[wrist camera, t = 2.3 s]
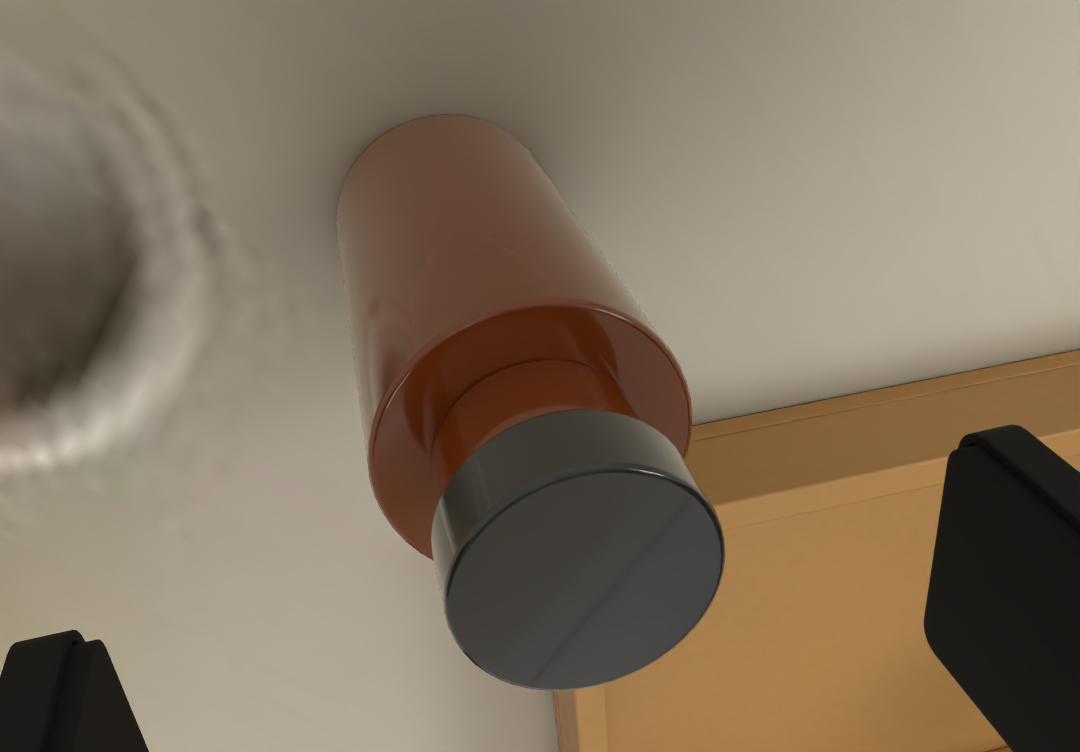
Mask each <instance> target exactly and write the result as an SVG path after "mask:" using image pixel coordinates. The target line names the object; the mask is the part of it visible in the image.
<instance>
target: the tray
mask: <svg viewBox="0 0 1080 752" xmlns="http://www.w3.org/2000/svg"><path fill="white" fill-rule="evenodd" d="M1010 424H1013V425H1019V426H1021V427H1023V428H1024V429H1026V430H1027V431H1029V432H1030V433H1031V434H1032V435H1034V436H1035V437H1036V438H1037V439H1039V440H1040V441H1041V442H1042V443H1044V444H1045V445H1046V446H1047V447H1049V448H1050V449H1051V450H1052V451H1054V452H1055V453H1056V454H1057V455H1059V456H1060V457H1061V458H1062V459H1064V460H1065V461H1066V462H1067V463H1069V464H1070V465H1071V466H1072V467H1074V468H1075V469H1076V470H1077V471H1079V472H1080V350H1076V351H1071V352H1066V353H1061V354H1056V355H1051V356H1045V357H1040V358H1035V359H1030V360H1025V361H1020V362H1015V363H1010V364H1005V365H1000V366H995V367H990V368H985V369H980V370H974V371H969V372H964V373H959V374H954V375H949V376H944V377H939V378H934V379H929V380H924V381H919V382H914V383H909V384H904V385H898V386H893V387H888V388H883V389H878V390H873V391H868V392H863V393H858V394H853V395H848V396H843V397H838V398H833V399H827V400H822V401H817V402H812V403H807V404H802V405H797V406H792V407H787V408H782V409H777V410H772V411H767V412H762V413H757V414H751V415H746V416H741V417H736V418H731V419H726V420H721V421H716V422H711V423H706V424H701V425H696V426H691V438H690V442H689V447H688V452H687V456H686V458H685V462H686V464H687V465H688V467H689V469H690V470H691V472H692V474H693V475H694V477H695V479H696V480H697V482H698V483H699V485H700V487H701V488H702V490H703V492H704V493H705V495H706V497H707V498H708V500H709V501H710V503H711V505H712V506H713V508H714V510H715V511H716V513H717V516H718V518H719V520H720V523H721V525H722V530H723V534H724V538H725V564H724V572H723V576H722V580H721V584H720V586H719V589H718V591H717V594H716V596H715V599H714V600H713V602H712V604H711V606H710V607H709V609H708V611H707V613H706V614H705V615H704V617H703V618H702V619H701V621H700V622H699V624H698V625H697V626H696V627H695V628H694V629H693V630H692V631H691V633H690V634H689V635H688V636H687V637H686V638H685V639H684V640H683V641H681V642H680V643H679V644H678V645H677V646H676V647H675V648H674V649H672V650H671V651H670V652H668V653H667V654H665V655H664V656H663V657H661V658H660V659H658V660H657V661H655V662H653V663H652V664H650V665H648V666H647V667H645V668H643V669H641V670H639V671H637V672H635V673H633V674H631V675H628V676H626V677H623V678H620V679H618V680H615V681H612V682H609V683H605V684H602V685H598V686H594V687H588V688H583V689H575V690H564V691H554V700H555V709H556V719H557V729H558V738H559V748H560V752H1013V751H1012V750H1011V749H1010V748H1009V746H1008V745H1007V744H1006V743H1005V741H1004V740H1003V739H1002V738H1001V736H1000V735H999V734H998V733H997V731H996V730H995V729H994V728H993V726H992V725H991V724H990V723H989V721H988V720H987V719H986V718H985V716H984V715H983V714H982V713H981V711H980V710H979V709H978V708H977V706H976V705H975V704H974V703H973V701H972V700H971V699H970V698H969V696H968V695H967V694H966V693H965V692H964V690H963V689H962V688H961V687H960V685H959V684H958V683H957V682H956V680H955V679H954V678H953V677H952V675H951V674H950V673H949V672H948V670H947V669H946V668H945V667H944V665H943V664H942V663H941V662H940V660H939V659H938V658H937V657H936V655H935V654H934V653H933V651H932V650H931V648H930V646H929V644H928V642H927V639H926V636H925V631H924V615H925V608H926V601H927V594H928V588H929V581H930V574H931V568H932V561H933V554H934V547H935V541H936V534H937V527H938V521H939V514H940V507H941V500H942V494H943V487H944V480H945V474H946V467H947V461H948V457H949V455H950V453H951V452H952V451H954V450H956V449H958V446H959V442H960V441H961V439H962V438H963V437H964V436H965V435H967V434H970V433H974V432H978V431H983V430H988V429H992V428H997V427H1001V426H1006V425H1010Z"/></svg>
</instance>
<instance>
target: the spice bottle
mask: <svg viewBox="0 0 1080 752" xmlns="http://www.w3.org/2000/svg"><path fill="white" fill-rule="evenodd" d="M336 230H337V238H338V246H339V253H340V261H341V268H342V276H343V283H344V291H345V298H346V306H347V313H348V321H349V328H350V336H351V343H352V350H353V358H354V365H355V373H356V380H357V388H358V395H359V403H360V410H361V418H362V425H363V433H364V440H365V448H366V455H367V463H368V470H369V478H370V482H371V486H372V489H373V492H374V496H375V498H376V500H377V503H378V505H379V507H380V509H381V511H382V513H383V514H384V516H385V517H386V519H387V520H388V522H389V523H390V524H391V526H392V527H393V528H394V529H395V531H396V532H397V533H398V534H399V535H400V536H401V537H402V538H403V539H404V540H405V541H406V542H407V543H409V544H410V545H411V546H412V547H414V548H415V549H416V550H417V551H419V552H420V553H421V554H423V555H425V556H427V557H428V558H430V559H432V560H434V564H435V568H436V573H437V578H438V583H439V588H440V593H441V598H442V603H443V608H444V613H445V617H446V620H447V624H448V628H449V630H450V632H451V634H452V636H453V638H454V640H455V642H456V643H457V644H458V646H459V647H460V649H461V650H462V651H463V653H464V654H465V655H466V656H467V657H468V658H469V659H470V660H471V661H472V662H473V663H474V664H475V665H477V666H478V667H480V668H481V669H482V670H484V671H485V672H486V673H488V674H490V675H492V676H494V677H496V678H498V679H500V680H502V681H505V682H508V683H510V684H513V685H517V686H521V687H525V688H530V689H538V690H551V691H564V690H575V689H583V688H588V687H594V686H598V685H602V684H605V683H609V682H612V681H615V680H618V679H620V678H623V677H626V676H628V675H631V674H633V673H635V672H637V671H639V670H641V669H643V668H645V667H647V666H648V665H650V664H652V663H653V662H655V661H657V660H658V659H660V658H661V657H663V656H664V655H665V654H667V653H668V652H670V651H671V650H672V649H674V648H675V647H676V646H677V645H678V644H679V643H680V642H681V641H683V640H684V639H685V638H686V637H687V636H688V635H689V634H690V633H691V631H692V630H693V629H694V628H695V627H696V626H697V625H698V624H699V622H700V621H701V619H702V618H703V617H704V615H705V614H706V613H707V611H708V609H709V607H710V606H711V604H712V602H713V600H714V599H715V596H716V594H717V591H718V589H719V586H720V584H721V580H722V576H723V572H724V564H725V538H724V534H723V530H722V525H721V523H720V520H719V518H718V516H717V513H716V511H715V510H714V508H713V506H712V505H711V503H710V501H709V500H708V498H707V497H706V495H705V493H704V492H703V490H702V488H701V487H700V485H699V483H698V482H697V480H696V479H695V477H694V475H693V474H692V472H691V470H690V469H689V467H688V465H687V464H686V462H685V458H686V456H687V452H688V447H689V442H690V438H691V426H692V408H691V398H690V393H689V389H688V385H687V381H686V379H685V376H684V374H683V372H682V369H681V367H680V365H679V363H678V362H677V360H676V358H675V357H674V355H673V353H672V352H671V350H670V349H669V347H668V346H667V345H666V343H665V342H664V340H663V339H662V337H661V336H660V335H659V333H658V332H657V330H656V329H655V328H654V326H653V325H652V323H651V322H650V321H649V319H648V318H647V316H646V315H645V313H644V312H643V311H642V309H641V308H640V306H639V305H638V304H637V302H636V301H635V299H634V298H633V297H632V295H631V294H630V292H629V291H628V289H627V288H626V287H625V285H624V284H623V282H622V281H621V280H620V278H619V277H618V275H617V274H616V273H615V271H614V270H613V268H612V267H611V265H610V264H609V263H608V261H607V260H606V258H605V257H604V256H603V254H602V253H601V251H600V250H599V249H598V247H597V246H596V244H595V243H594V241H593V240H592V239H591V237H590V236H589V234H588V233H587V232H586V230H585V229H584V227H583V226H582V225H581V223H580V222H579V220H578V219H577V217H576V216H575V215H574V213H573V212H572V210H571V209H570V208H569V206H568V205H567V203H566V202H565V201H564V199H563V198H562V196H561V195H560V193H559V192H558V191H557V189H556V188H555V186H554V185H553V184H552V182H551V181H550V179H549V178H548V176H547V175H546V174H545V172H544V171H543V169H542V168H541V167H540V165H539V164H538V162H537V161H536V160H535V158H534V157H533V156H532V154H531V153H530V152H529V151H528V150H527V148H526V147H525V146H524V145H523V144H522V143H521V142H519V141H518V140H517V139H516V138H515V137H514V136H512V135H511V134H509V133H508V132H506V131H505V130H503V129H502V128H500V127H497V126H495V125H493V124H491V123H489V122H486V121H483V120H480V119H477V118H473V117H467V116H462V115H435V116H428V117H424V118H419V119H415V120H412V121H410V122H407V123H404V124H402V125H400V126H398V127H396V128H394V129H392V130H390V131H388V132H387V133H385V134H384V135H382V136H381V137H379V138H378V139H377V140H376V141H374V142H373V143H372V144H371V145H370V146H369V147H368V148H367V149H366V150H365V151H364V152H363V153H362V154H361V156H360V157H359V158H358V159H357V160H356V162H355V163H354V165H353V166H352V168H351V170H350V171H349V173H348V175H347V177H346V179H345V181H344V184H343V186H342V189H341V192H340V196H339V199H338V205H337V212H336Z"/></svg>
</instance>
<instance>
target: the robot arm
mask: <svg viewBox="0 0 1080 752" xmlns="http://www.w3.org/2000/svg"><path fill="white" fill-rule="evenodd" d="M924 631H925V636H926V639H927V642H928V644H929V646H930V648H931V650H932V651H933V653H934V654H935V655H936V657H937V658H938V659H939V660H940V662H941V663H942V664H943V665H944V667H945V668H946V669H947V670H948V672H949V673H950V674H951V675H952V677H953V678H954V679H955V680H956V682H957V683H958V684H959V685H960V687H961V688H962V689H963V690H964V692H965V693H966V694H967V695H968V696H969V698H970V699H971V700H972V701H973V703H974V704H975V705H976V706H977V708H978V709H979V710H980V711H981V713H982V714H983V715H984V716H985V718H986V719H987V720H988V721H989V723H990V724H991V725H992V726H993V728H994V729H995V730H996V731H997V733H998V734H999V735H1000V736H1001V738H1002V739H1003V740H1004V741H1005V743H1006V744H1007V745H1008V746H1009V748H1010V749H1011V750H1012V751H1013V752H1080V472H1079V471H1077V470H1076V469H1075V468H1074V467H1072V466H1071V465H1070V464H1069V463H1067V462H1066V461H1065V460H1064V459H1062V458H1061V457H1060V456H1059V455H1057V454H1056V453H1055V452H1054V451H1052V450H1051V449H1050V448H1049V447H1047V446H1046V445H1045V444H1044V443H1042V442H1041V441H1040V440H1039V439H1037V438H1036V437H1035V436H1034V435H1032V434H1031V433H1030V432H1029V431H1027V430H1026V429H1024V428H1023V427H1021V426H1019V425H1013V424H1010V425H1006V426H1001V427H997V428H992V429H988V430H983V431H978V432H974V433H970V434H967V435H965V436H964V437H963V438H962V439H961V441H960V442H959V446H958V449H956V450H954V451H952V452H951V453H950V455H949V457H948V461H947V467H946V474H945V480H944V487H943V494H942V500H941V507H940V514H939V521H938V527H937V534H936V541H935V547H934V554H933V561H932V568H931V574H930V581H929V588H928V594H927V601H926V608H925V615H924ZM0 752H149V751H148V748H147V746H146V744H145V741H144V739H143V736H142V734H141V731H140V729H139V727H138V724H137V722H136V719H135V717H134V714H133V712H132V710H131V707H130V705H129V702H128V700H127V698H126V695H125V693H124V690H123V688H122V685H121V683H120V681H119V678H118V676H117V673H116V671H115V669H114V666H113V664H112V661H111V659H110V656H109V654H108V652H107V649H106V647H105V645H104V643H103V642H102V641H101V640H93V641H88V642H85V641H84V639H83V637H82V635H81V634H80V633H79V632H78V631H77V630H70V631H66V632H61V633H56V634H52V635H47V636H43V637H38V638H34V639H29V640H24V641H20V642H16V643H14V644H13V645H12V646H11V647H10V650H9V652H8V654H7V657H6V660H5V664H4V667H3V670H2V673H1V677H0Z"/></svg>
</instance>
